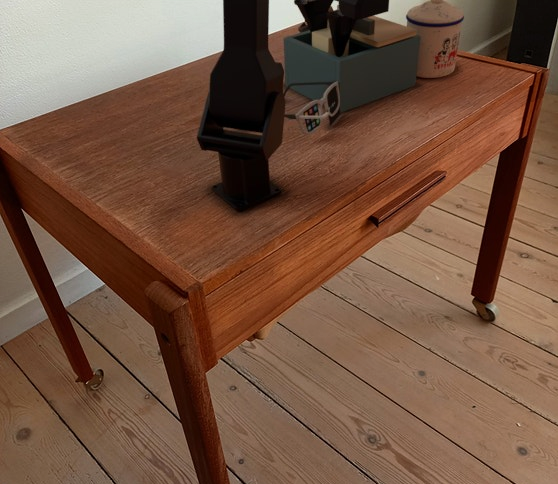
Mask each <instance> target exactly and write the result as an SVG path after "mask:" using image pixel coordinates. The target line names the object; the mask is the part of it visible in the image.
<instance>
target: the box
mask: <svg viewBox="0 0 558 484" xmlns="http://www.w3.org/2000/svg"><path fill="white" fill-rule="evenodd" d="M282 38H283V39H282V40H283V59H284V60H283V62H284V63H283V64H284V84H285V87H287V86H288V85H289V84H291V83H305V82H331V81H336V82H337V81H338V85H339V95H340V106H339V107H340V112H341V114H342V113H344V112H347V111H349V110H353V109H355V108H357V107H361V106H364V105H367V104H369V103H371V102H372V103H373V102H375V101H377V100H379V99H382V98H385V97H388V96H391V95H393V94H396V93H399V92H402V91H405V90H407V89H410V88H412V87H415V86H416V83H417V76H416V75H417V66H418V57H419V48H420V38H421V36H420V35H417V34H416V35H415V36H412V37H409V38H406V39H403V40H399V41H396V42H393V43H390V44H387V45H384V46H381V47H374V46H372V45H369V44H367V43H364V42H361V41H359V40H356V39H353V38H351V37H349V51H348V56H346V57H343V58H339V57H337V56H334V55H332V54H330V53H327V52H325V51H323V50H320V49H318V48H315V47H313V46H312V34H311V32H310V30H309V31H305V32H302V33H300V32H299V33H295V34H292V35H287V36H284V37H282ZM329 87H330V86H329V85H325V84H322V85H294V86H291V87H290V88H289V90H290V89H291V90H292V91H294V92H296V93H298V94H300V95H301V96H304V97H306V98H308V99H310V100H312V101H314V100H321V99H322V98H323V96H324V93H325V91H326V90H327V89H328V88H329ZM323 106H324V107H325V105H324V103H323V105H322V107H323Z"/></svg>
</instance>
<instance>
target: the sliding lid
mask: <svg viewBox="0 0 558 484" xmlns="http://www.w3.org/2000/svg"><path fill="white" fill-rule="evenodd" d="M327 28H329V22H328V25H327ZM416 34H417V30H416V29H413V28H410V27H407V25H403V24H401V23H397V22H395V21H391V20H388V19H385V18H382V17H379V16H377V15H374V16H371V17H367V18H364V19H358V20H357V21H356V23H355V25H354V27H353V29H352V32H351V35H350V37H351V38H353V39H356V40H359V41H361V42H364V43H367V44H369V45H372V46H374V47H381V46H384V45H387V44H390V43H393V42H396V41H399V40H403V39H406V38H409V37H412V36H415V35H416Z"/></svg>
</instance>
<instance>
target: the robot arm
mask: <svg viewBox="0 0 558 484" xmlns="http://www.w3.org/2000/svg"><path fill="white" fill-rule="evenodd" d="M334 1H335V2H338V4H336V9H333V10H334V11H331V12H328V11H329V8H330V6H332V4H333V3H334ZM293 4H294V5H295V6H296V7H297V8H298V10H299V12H300V14H301V16H302V18H303V19H304V22H305V23H306V25H308V27H309V29H310V32H311V34H312V32H314V31H318V30H321V29H325V28H327V25H328V22H329V27H330V32H331V37H332V42H333V47H334V51H335V54H336V56H337V57H340V56H342V55H343V54H344V51H345V48H346V46H347V43H348V40H349V37H350V35H351V32H352V29H353V27H354V25H355V23H356V21H357V20H358V19H364V18H367V17H371V16H378V15H381V14H384V13H385V14H386V13H389V10H390V9H389V8H390V0H293ZM222 13H223V15H222V18H223V19H222V21H223V23H222V24H223V50H222V52H221V54H220V56H219V57H218V59H217V61H216V62H215V64H214V66H213V68H212V70H211V72H210V73H209V86H208V87H209V89H208V90H209V91H208V93H207V96H206V100H205V104H204V108H203V111H202V116H201V120H200V123H199V127H198V131H197V135H196V140H197V143H198V145H199V148H200V150H201V151H205V152H206V151H210V152H216V153H217V154H218V163H219V171H220V178H221V182H218V183H215V184H213V185H211V191H212V192H213V193H214V194H216V195H217V196H218V197H219V198H220V199H221V200H223V201H224V202H225V203H226V204H227V205H229V206H230V207H231V208H232V209H234V210H235V211H237V212H241V211H243V210H246V209H248V208H251V207H253V206H256V205H258V204H261V203H263V202H265V201H268V200H270V199H272V198H275V197H277V196H280V195H281V194H282V189H281V188H280V187H278V186H277V185H276V184H275V183H273V182H271V178H270V177H271V176H270V163H269V159H270V158H271V157H272V156H273V155H274V153H275V152H276V151H277V150H278V149H279V148H280V146H281V145H282V144H283V137H284V126H285V117H284V116H285V114H286V98H285V97H286V96H285V97H284V94H283V93H284V80H285V68H284V66H283V64H282V62H278V61H275V58H274V57H273V55H272V53H271V50H270V48H269V29H270V28H269V27H270V25H269V24H270V23H269V22H270V21H269V20H270V0H222ZM224 128H227V129H224ZM229 129H234V130H229ZM236 130H241V131H236ZM242 131H246V132H242ZM250 132H253V133H250ZM255 133H260V134H255Z"/></svg>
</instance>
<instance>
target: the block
mask: <svg viewBox="0 0 558 484" xmlns="http://www.w3.org/2000/svg"><path fill="white" fill-rule="evenodd" d="M312 46H313V47H315V48H318V49H320V50H323V51H325V52H327V53H330V54H332V55H334V56H336V54H335V51H334V47H333V42H332V37H331V32H330V27H329V28H325V29H321V30H318V31H314V32H312ZM348 51H349V40H348V43H347V46H346V48H345V51H344V54H343V55H342V56H340V57H339V58H343V57H346V56H348Z"/></svg>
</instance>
